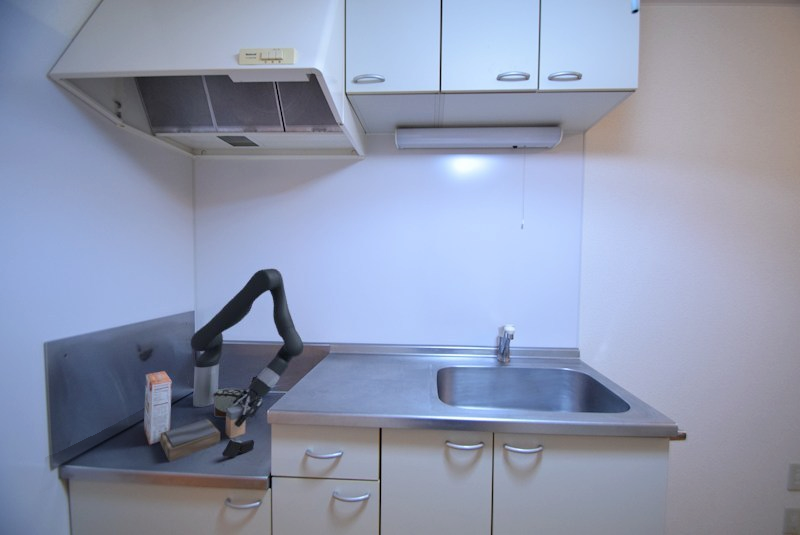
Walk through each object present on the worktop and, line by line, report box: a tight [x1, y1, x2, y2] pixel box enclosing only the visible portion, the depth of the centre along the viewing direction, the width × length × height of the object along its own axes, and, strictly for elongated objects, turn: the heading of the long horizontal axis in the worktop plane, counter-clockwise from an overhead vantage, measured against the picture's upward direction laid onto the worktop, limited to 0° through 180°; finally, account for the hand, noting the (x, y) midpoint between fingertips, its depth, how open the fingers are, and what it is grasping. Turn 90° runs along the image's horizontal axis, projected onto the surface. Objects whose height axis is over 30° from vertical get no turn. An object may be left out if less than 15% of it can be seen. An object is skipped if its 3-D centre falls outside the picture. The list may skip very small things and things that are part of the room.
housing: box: [225, 405, 247, 440], centre depth 108 cm, size 5×5×9 cm
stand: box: [159, 418, 221, 462], centre depth 100 cm, size 14×14×4 cm
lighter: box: [222, 435, 255, 458], centre depth 96 cm, size 9×2×6 cm
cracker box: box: [143, 370, 173, 446], centre depth 105 cm, size 14×6×21 cm, turn 47°
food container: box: [212, 387, 243, 419], centre depth 122 cm, size 12×6×10 cm, turn 84°
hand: (232, 421), depth 107 cm, fingers open, 8 cm apart
